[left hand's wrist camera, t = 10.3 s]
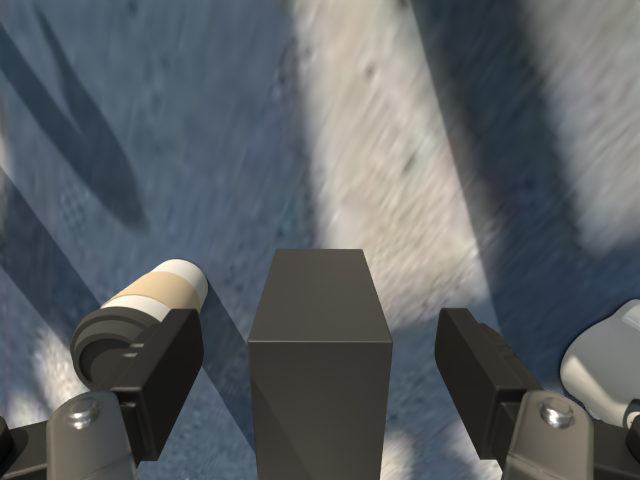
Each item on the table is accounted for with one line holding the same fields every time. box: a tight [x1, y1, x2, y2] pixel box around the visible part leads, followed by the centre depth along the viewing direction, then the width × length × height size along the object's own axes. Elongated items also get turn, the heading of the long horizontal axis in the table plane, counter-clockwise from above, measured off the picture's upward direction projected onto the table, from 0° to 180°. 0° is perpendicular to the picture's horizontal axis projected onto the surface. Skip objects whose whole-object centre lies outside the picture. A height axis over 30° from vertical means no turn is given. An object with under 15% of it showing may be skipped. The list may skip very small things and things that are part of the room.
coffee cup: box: [70, 259, 208, 391], centre depth 35 cm, size 9×9×15 cm
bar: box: [247, 249, 393, 480], centre depth 21 cm, size 27×5×9 cm, turn 179°
